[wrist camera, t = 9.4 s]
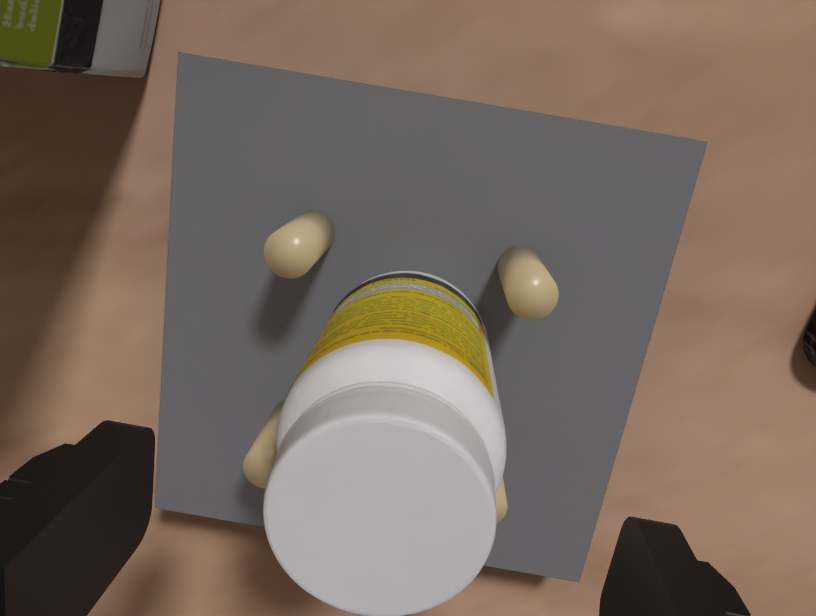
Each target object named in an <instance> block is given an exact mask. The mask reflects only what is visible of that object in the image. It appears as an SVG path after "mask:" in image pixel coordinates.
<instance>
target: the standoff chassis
mask: <svg viewBox="0 0 816 616" xmlns="http://www.w3.org/2000/svg"><path fill="white" fill-rule="evenodd" d="M706 146H707V142H706V141H700V140H694V139H688V138H682V137H676V136H670V135H664V134H658V133H653V132H647V131H641V130H635V129H629V128H623V127H617V126H611V125H605V124H599V123H594V122H588V121H582V120H576V119H570V118H564V117H558V116H552V115H546V114H540V113H535V112H529V111H523V110H517V109H511V108H505V107H499V106H493V105H487V104H481V103H475V102H470V101H464V100H458V99H452V98H446V97H440V96H434V95H428V94H422V93H416V92H411V91H405V90H399V89H393V88H387V87H381V86H375V85H369V84H363V83H357V82H352V81H346V80H340V79H334V78H328V77H322V76H316V75H310V74H304V73H298V72H292V71H287V70H281V69H275V68H269V67H263V66H257V65H251V64H245V63H239V62H233V61H228V60H222V59H216V58H210V57H204V56H198V55H192V54H186V53H180V52H178V65H177V85H176V104H175V123H174V143H173V162H172V181H171V201H170V220H169V239H168V259H167V278H166V297H165V317H164V336H163V355H162V375H161V394H160V413H159V433H158V452H157V471H156V490H155V508H158V509H163V510H169V511H175V512H181V513H186V514H192V515H198V516H203V517H209V518H215V519H221V520H226V521H232V522H238V523H243V524H249V525H255V526H261V527H264V521H263V501H264V493H265V489H266V485H267V481H268V479H269V476H270V473H271V471H272V468H273V465H274V463H275V458H276V455H277V451H276V431H277V424H278V420H279V416H280V412H281V409H282V407H283V404H284V401H285V399H286V397H287V394H288V392H289V390H290V388H291V386H292V384H293V383H294V381H295V380H296V378H297V376H298V374H299V372H300V371H301V369H302V367H303V365H304V363H305V362H306V360H307V358H308V356H309V354H310V353H311V351H312V349H313V347H314V346H315V344H316V342H317V340H318V338H319V336H320V335H321V333H322V331H323V330H324V328H325V326H326V324H327V322H328V321H329V319H330V317H331V315H332V313H333V311H334V310H335V308H336V307H337V305H338V304H339V302H340V301H341V300H342V299H343V298H344V297H345V296H346V295H347V294H348V293H349V292H350V291H351V290H353V289H354V288H355V287H356V286H358V285H359V284H361V283H362V282H364V281H366V280H368V279H370V278H372V277H375V276H377V275H380V274H384V273H388V272H394V271H418V272H423V273H428V274H431V275H434V276H437V277H439V278H441V279H444V280H445V281H447V282H449V283H451V284H452V285H454V286H455V287H456V288H458V289H459V290H460V291H461V292H462V293H463V294H464V295H465V296H466V297H467V298H468V299H469V300H470V301H471V303H472V304H473V305H474V307H475V308H476V310H477V311H478V313H479V315H480V316H481V318H482V321H483V323H484V325H485V328H486V332H487V336H488V341H489V344H490V350H491V357H492V363H493V368H494V374H495V379H496V384H497V390H498V395H499V400H500V405H501V410H502V415H503V420H504V425H505V432H506V462H505V468H504V473H503V477H502V481H501V483H500V486H499V488H498V491H497V493H496V495H495V497H496V510H497V523H496V533H495V538H494V542H493V546H492V549H491V551H490V554H489V556H488V558H487V560H486V562H485V564H484V565H483V566H489V567H495V568H500V569H506V570H512V571H517V572H523V573H529V574H535V575H540V576H546V577H552V578H557V579H563V580H569V581H575V582H579V581H580V578H581V574H582V571H583V568H584V564H585V561H586V557H587V554H588V550H589V547H590V544H591V540H592V537H593V533H594V530H595V526H596V523H597V520H598V516H599V513H600V509H601V506H602V502H603V499H604V496H605V492H606V489H607V485H608V482H609V478H610V475H611V472H612V468H613V465H614V461H615V458H616V454H617V451H618V448H619V444H620V441H621V437H622V434H623V430H624V427H625V423H626V420H627V417H628V413H629V410H630V406H631V403H632V399H633V396H634V393H635V389H636V386H637V382H638V379H639V375H640V372H641V369H642V365H643V362H644V358H645V355H646V351H647V348H648V345H649V341H650V338H651V334H652V331H653V327H654V324H655V321H656V317H657V314H658V310H659V307H660V303H661V300H662V297H663V293H664V290H665V286H666V283H667V279H668V276H669V273H670V269H671V266H672V262H673V259H674V255H675V252H676V249H677V245H678V242H679V238H680V235H681V231H682V228H683V225H684V221H685V218H686V214H687V211H688V207H689V204H690V201H691V197H692V194H693V190H694V187H695V183H696V180H697V177H698V173H699V170H700V166H701V163H702V159H703V156H704V153H705V149H706Z"/></svg>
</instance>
